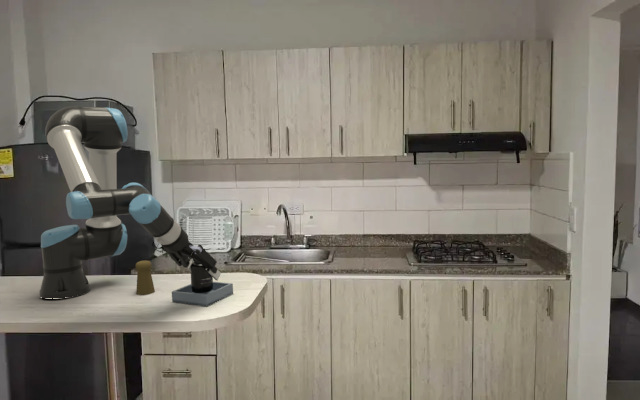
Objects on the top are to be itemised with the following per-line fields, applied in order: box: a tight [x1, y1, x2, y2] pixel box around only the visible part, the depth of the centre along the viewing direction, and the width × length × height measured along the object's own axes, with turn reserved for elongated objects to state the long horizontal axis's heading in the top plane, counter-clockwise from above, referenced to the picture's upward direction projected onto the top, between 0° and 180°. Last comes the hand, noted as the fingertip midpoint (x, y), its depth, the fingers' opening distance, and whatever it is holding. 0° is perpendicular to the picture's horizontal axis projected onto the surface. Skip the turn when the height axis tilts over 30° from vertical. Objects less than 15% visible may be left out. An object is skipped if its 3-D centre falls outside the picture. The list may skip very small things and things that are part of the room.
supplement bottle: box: [190, 259, 214, 293], centre depth 144 cm, size 7×7×12 cm
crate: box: [171, 281, 234, 308], centre depth 145 cm, size 14×14×4 cm
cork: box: [135, 260, 156, 296], centre depth 154 cm, size 6×6×11 cm
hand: (209, 275), depth 148 cm, fingers closed on supplement bottle, 7 cm apart
